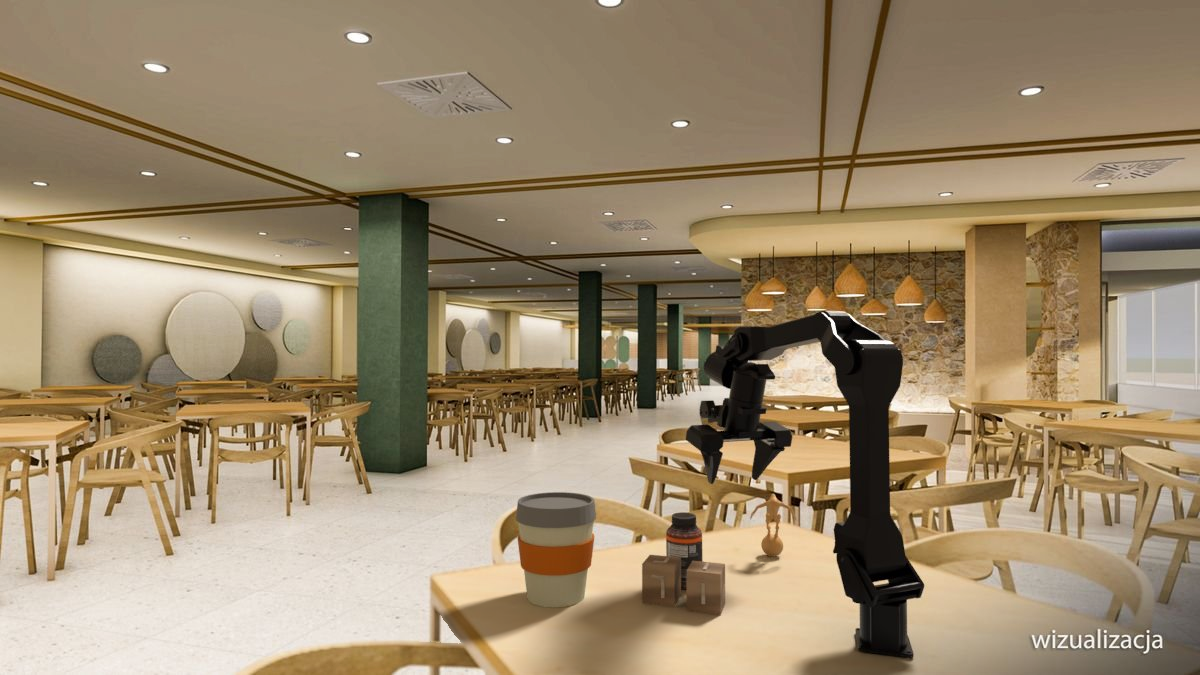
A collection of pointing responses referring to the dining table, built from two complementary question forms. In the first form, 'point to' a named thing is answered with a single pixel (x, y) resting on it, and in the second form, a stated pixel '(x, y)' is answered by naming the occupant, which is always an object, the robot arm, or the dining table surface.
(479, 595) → the dining table surface
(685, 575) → the supplement bottle
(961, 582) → the dining table surface
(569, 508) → the reusable coffee cup
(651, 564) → the block seven
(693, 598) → the block one
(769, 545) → the figurine
